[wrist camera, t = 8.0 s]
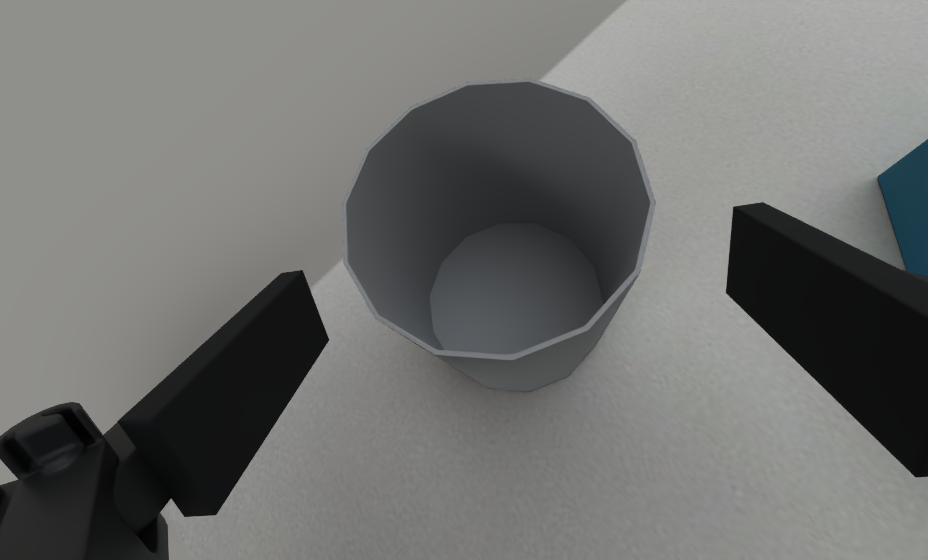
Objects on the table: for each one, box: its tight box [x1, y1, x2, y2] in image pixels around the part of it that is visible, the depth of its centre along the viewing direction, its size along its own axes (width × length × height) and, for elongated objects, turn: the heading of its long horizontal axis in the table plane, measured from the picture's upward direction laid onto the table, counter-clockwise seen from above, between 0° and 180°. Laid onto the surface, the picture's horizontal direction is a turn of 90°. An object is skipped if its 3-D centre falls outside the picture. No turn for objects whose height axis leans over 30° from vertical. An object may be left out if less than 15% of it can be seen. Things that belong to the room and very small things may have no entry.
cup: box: [342, 78, 656, 392], centre depth 16 cm, size 8×8×10 cm
